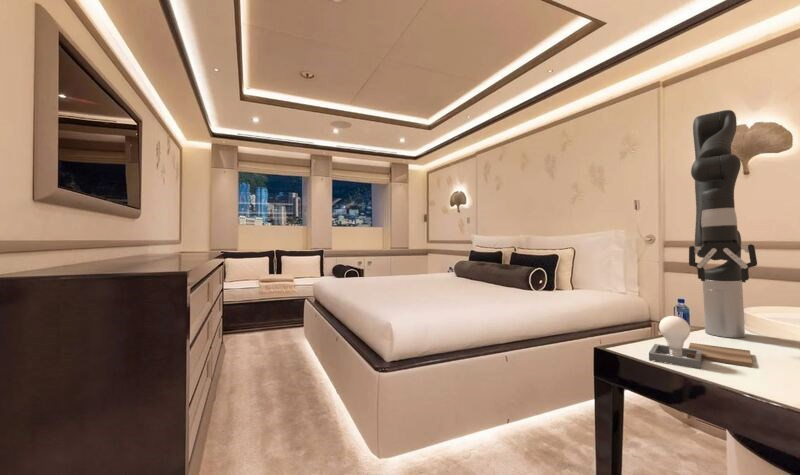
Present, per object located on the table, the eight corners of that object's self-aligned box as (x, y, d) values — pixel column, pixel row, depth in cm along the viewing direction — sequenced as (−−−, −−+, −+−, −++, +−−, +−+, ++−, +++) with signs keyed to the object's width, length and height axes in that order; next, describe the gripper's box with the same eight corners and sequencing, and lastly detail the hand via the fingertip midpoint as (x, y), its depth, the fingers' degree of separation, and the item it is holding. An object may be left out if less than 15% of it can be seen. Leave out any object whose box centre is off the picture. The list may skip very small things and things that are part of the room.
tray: (655, 350, 97) (654, 343, 97) (702, 357, 90) (702, 350, 90) (649, 360, 89) (648, 353, 89) (700, 368, 82) (699, 361, 82)
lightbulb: (696, 359, 88) (694, 316, 89) (685, 364, 85) (683, 319, 85) (666, 353, 94) (664, 312, 94) (656, 358, 91) (653, 315, 91)
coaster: (690, 346, 99) (690, 342, 99) (750, 354, 91) (749, 350, 91) (686, 357, 90) (686, 353, 90) (752, 367, 82) (752, 363, 82)
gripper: (754, 223, 97) (758, 281, 96) (689, 227, 108) (692, 279, 107) (753, 222, 92) (758, 283, 91) (685, 226, 103) (688, 281, 102)
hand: (722, 281), depth 99 cm, fingers open, 8 cm apart
